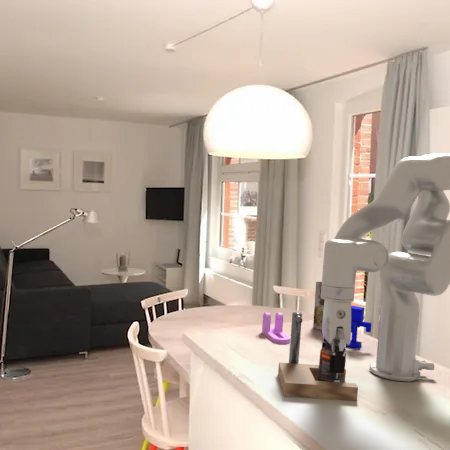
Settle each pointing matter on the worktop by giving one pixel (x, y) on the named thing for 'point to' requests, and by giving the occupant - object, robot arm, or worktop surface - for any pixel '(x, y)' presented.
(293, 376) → the bay shelf
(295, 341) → the hook post
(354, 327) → the figurine
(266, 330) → the bracket
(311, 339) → the worktop surface
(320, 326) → the coffee box
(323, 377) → the supplement bottle
